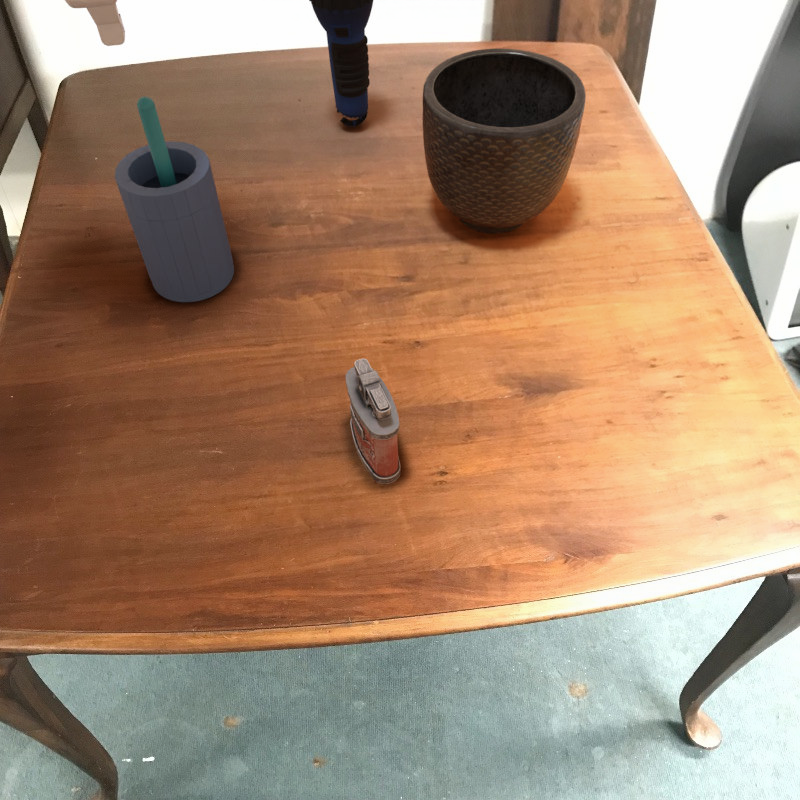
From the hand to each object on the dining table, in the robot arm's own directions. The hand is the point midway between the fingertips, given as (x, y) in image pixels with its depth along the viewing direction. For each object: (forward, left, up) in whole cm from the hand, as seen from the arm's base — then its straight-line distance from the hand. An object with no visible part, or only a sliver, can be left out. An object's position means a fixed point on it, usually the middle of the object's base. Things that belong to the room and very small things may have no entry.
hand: (117, 14), depth 65 cm
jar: (0, 0, -29) cm, 29 cm away
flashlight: (+22, +26, -29) cm, 45 cm away
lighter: (+16, -28, -29) cm, 43 cm away
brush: (0, 0, -28) cm, 28 cm away
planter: (+36, +4, -29) cm, 46 cm away
